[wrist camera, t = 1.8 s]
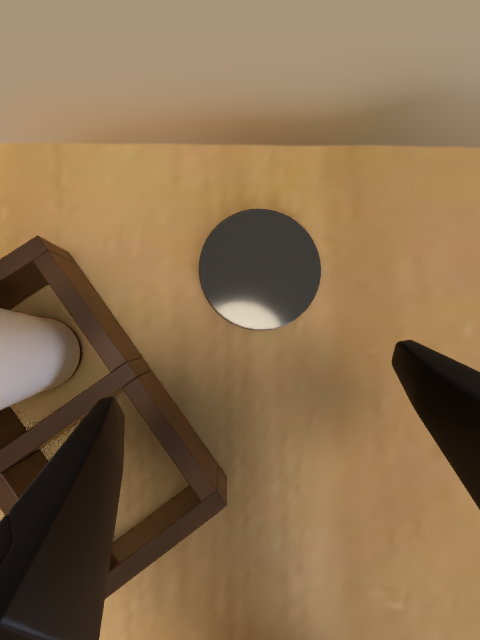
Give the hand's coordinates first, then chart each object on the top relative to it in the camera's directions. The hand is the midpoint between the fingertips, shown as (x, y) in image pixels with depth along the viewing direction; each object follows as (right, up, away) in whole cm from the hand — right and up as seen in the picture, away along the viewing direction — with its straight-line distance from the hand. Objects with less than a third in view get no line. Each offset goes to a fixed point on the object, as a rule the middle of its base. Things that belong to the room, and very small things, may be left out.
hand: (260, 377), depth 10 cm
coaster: (+1, +6, +15) cm, 16 cm away
